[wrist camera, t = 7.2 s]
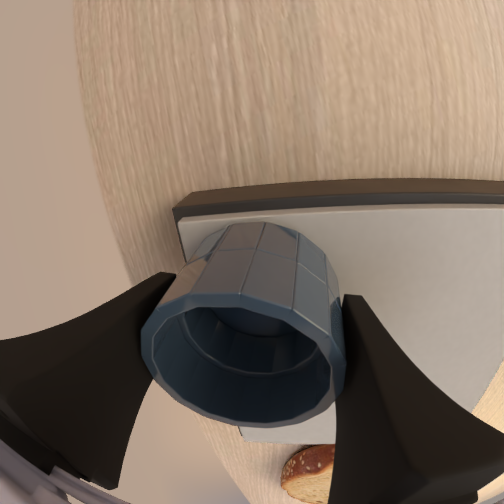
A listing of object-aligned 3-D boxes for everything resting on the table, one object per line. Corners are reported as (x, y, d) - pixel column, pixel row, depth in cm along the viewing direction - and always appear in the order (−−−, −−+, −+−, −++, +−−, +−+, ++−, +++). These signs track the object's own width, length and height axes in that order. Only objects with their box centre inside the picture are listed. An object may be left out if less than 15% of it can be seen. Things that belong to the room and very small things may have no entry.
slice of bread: (321, 496, 30) (319, 518, 27) (228, 460, 26) (221, 488, 23) (442, 460, 22) (445, 485, 19) (384, 414, 18) (388, 455, 15)
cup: (169, 287, 12) (117, 363, 8) (246, 183, 10) (201, 242, 6) (273, 357, 13) (257, 442, 9) (366, 281, 10) (389, 375, 6)
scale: (187, 192, 13) (160, 213, 11) (527, 183, 9) (560, 201, 7) (244, 413, 21) (237, 443, 18) (456, 399, 17) (464, 427, 14)
